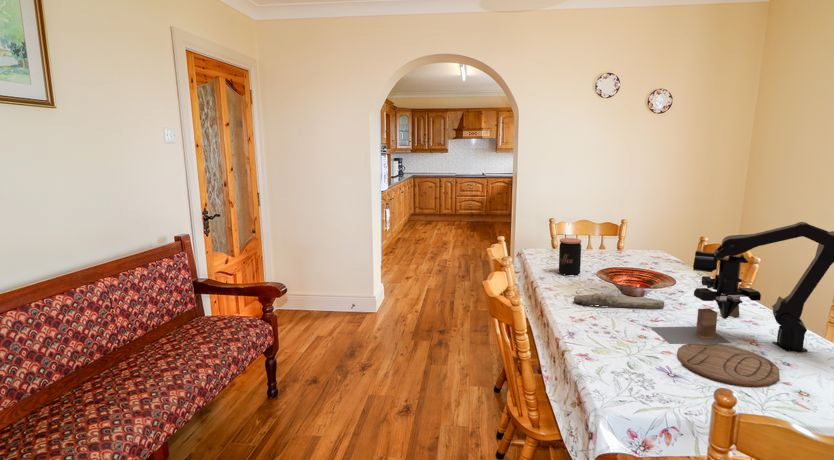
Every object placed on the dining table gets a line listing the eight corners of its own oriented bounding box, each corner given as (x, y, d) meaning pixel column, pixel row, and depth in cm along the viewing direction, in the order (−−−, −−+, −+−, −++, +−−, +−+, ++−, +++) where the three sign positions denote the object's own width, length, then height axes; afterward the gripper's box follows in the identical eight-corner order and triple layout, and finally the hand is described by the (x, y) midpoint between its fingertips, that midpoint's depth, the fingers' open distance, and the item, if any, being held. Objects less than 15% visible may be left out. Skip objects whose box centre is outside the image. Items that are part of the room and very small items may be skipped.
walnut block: (715, 338, 149) (717, 312, 148) (702, 338, 150) (705, 312, 148) (707, 333, 153) (710, 308, 152) (695, 333, 154) (698, 308, 152)
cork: (742, 318, 167) (745, 290, 165) (724, 317, 168) (727, 289, 166) (734, 312, 173) (737, 285, 171) (717, 311, 174) (720, 284, 172)
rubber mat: (731, 344, 146) (732, 343, 145) (669, 344, 146) (669, 343, 146) (706, 327, 159) (706, 326, 159) (649, 328, 160) (649, 327, 160)
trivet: (665, 367, 132) (666, 361, 132) (689, 341, 150) (690, 335, 149) (771, 398, 115) (772, 392, 114) (785, 364, 132) (785, 358, 132)
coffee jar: (554, 272, 234) (555, 239, 231) (569, 270, 238) (570, 237, 235) (568, 277, 224) (570, 242, 221) (584, 274, 229) (586, 240, 225)
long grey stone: (667, 315, 176) (659, 307, 186) (669, 302, 175) (661, 295, 185) (575, 306, 183) (572, 299, 193) (576, 293, 183) (573, 287, 192)
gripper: (741, 267, 155) (736, 309, 158) (686, 268, 156) (683, 310, 159) (764, 276, 144) (759, 321, 147) (705, 276, 145) (701, 322, 148)
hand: (724, 318), depth 150 cm, fingers closed
